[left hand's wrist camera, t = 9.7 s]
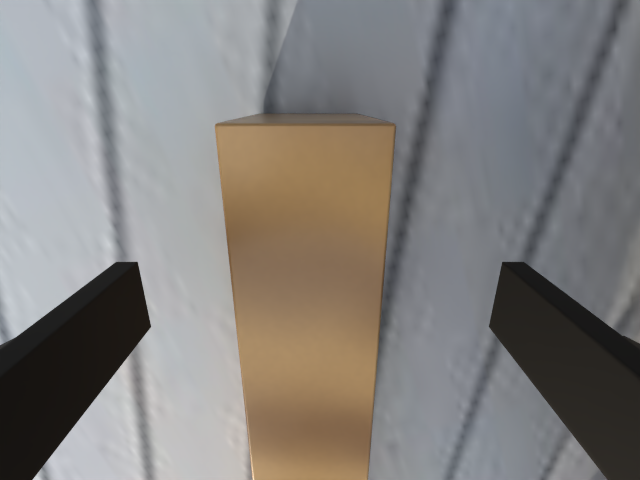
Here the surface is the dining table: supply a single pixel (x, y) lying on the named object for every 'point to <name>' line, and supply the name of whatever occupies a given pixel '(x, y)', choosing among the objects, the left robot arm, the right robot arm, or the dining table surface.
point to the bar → (307, 284)
